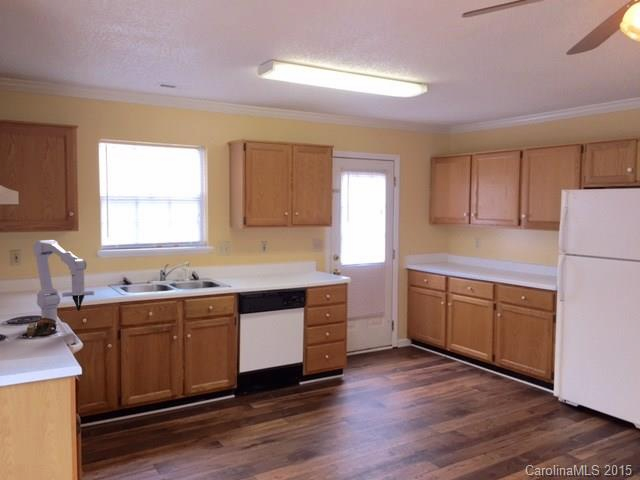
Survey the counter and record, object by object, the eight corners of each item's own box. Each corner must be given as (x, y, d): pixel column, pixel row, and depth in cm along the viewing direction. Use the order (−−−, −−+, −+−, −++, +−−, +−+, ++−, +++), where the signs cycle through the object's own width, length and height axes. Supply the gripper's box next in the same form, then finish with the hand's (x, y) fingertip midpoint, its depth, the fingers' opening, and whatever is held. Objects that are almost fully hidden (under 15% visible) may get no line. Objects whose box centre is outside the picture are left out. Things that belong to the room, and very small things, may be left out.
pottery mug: (29, 334, 259) (34, 318, 263) (47, 339, 265) (52, 323, 269) (41, 331, 252) (46, 314, 256) (60, 336, 259) (65, 320, 262)
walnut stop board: (30, 330, 264) (30, 322, 264) (36, 330, 265) (35, 322, 264) (27, 336, 253) (26, 327, 252) (32, 335, 254) (32, 327, 253)
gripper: (61, 285, 261) (62, 312, 261) (93, 283, 266) (94, 310, 267) (62, 283, 267) (63, 310, 268) (93, 281, 272) (94, 308, 273)
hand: (78, 310), depth 268 cm, fingers closed
